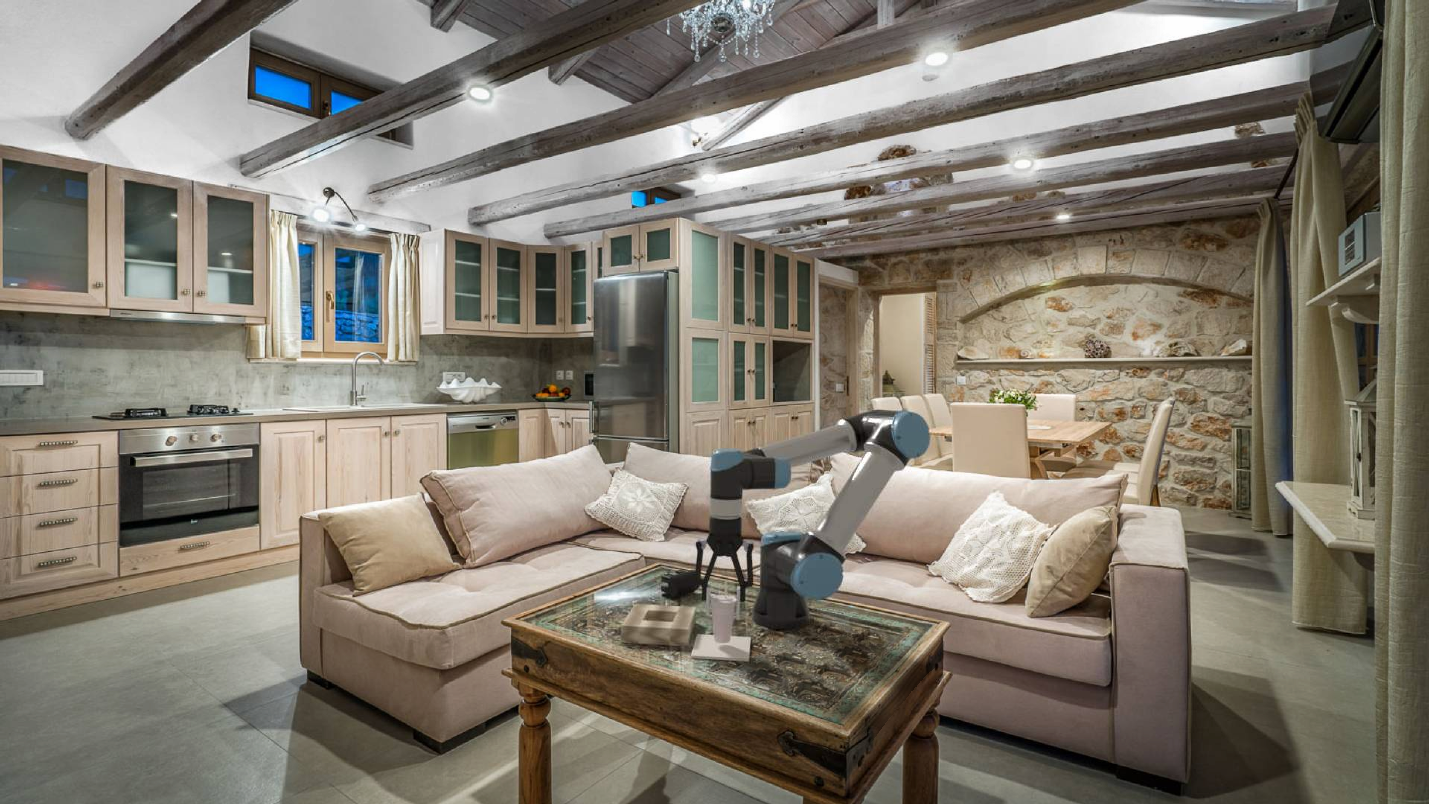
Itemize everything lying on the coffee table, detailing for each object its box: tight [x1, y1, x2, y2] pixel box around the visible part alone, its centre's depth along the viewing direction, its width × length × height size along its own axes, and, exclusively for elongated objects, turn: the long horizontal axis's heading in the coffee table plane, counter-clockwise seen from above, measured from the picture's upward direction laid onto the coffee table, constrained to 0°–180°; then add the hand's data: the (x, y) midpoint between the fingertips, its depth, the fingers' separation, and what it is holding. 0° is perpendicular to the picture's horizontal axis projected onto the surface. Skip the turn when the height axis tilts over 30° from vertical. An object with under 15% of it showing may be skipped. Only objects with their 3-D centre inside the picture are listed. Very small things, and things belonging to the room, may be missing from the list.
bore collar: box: [620, 603, 697, 647], centre depth 161 cm, size 16×16×4 cm
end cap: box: [660, 569, 701, 600], centre depth 191 cm, size 10×7×7 cm
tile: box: [690, 633, 751, 663], centre depth 152 cm, size 13×13×1 cm
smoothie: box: [710, 579, 737, 643], centre depth 152 cm, size 6×6×14 cm
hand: (723, 614), depth 152 cm, fingers closed on smoothie, 6 cm apart
